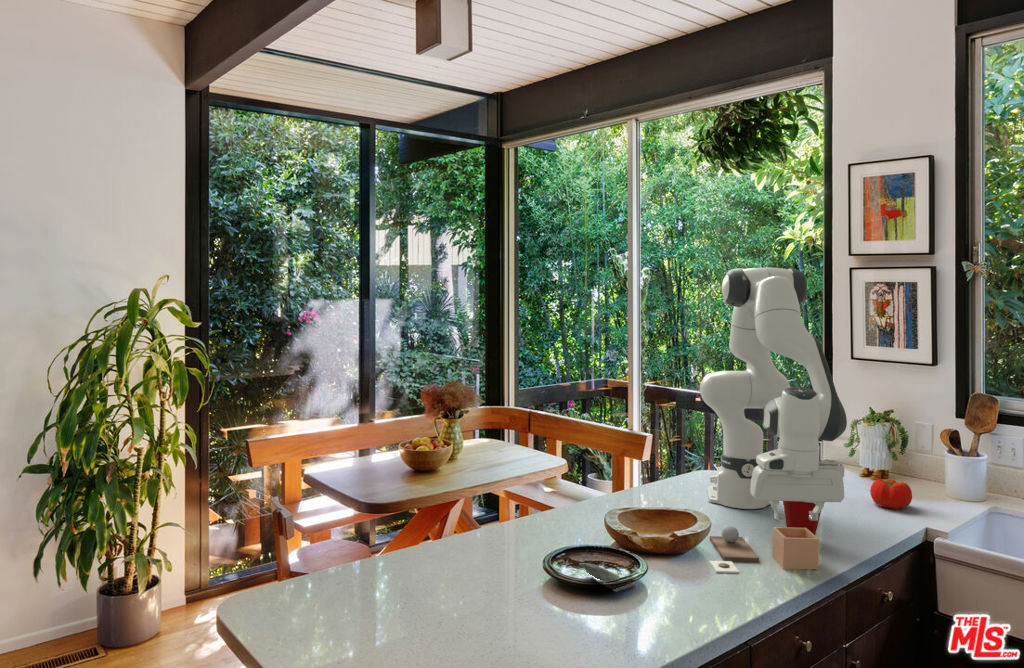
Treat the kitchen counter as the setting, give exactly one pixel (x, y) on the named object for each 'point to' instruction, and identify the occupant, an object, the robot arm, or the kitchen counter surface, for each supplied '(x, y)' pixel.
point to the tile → (724, 567)
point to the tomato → (891, 493)
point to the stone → (603, 574)
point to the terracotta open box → (795, 548)
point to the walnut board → (734, 550)
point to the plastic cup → (800, 515)
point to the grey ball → (730, 534)
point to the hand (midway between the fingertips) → (795, 519)
